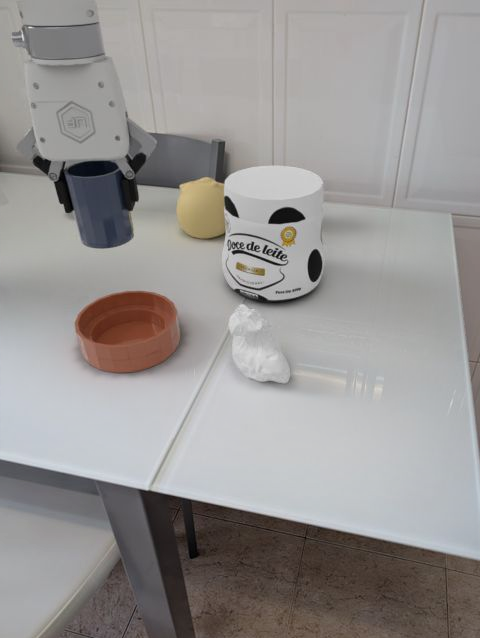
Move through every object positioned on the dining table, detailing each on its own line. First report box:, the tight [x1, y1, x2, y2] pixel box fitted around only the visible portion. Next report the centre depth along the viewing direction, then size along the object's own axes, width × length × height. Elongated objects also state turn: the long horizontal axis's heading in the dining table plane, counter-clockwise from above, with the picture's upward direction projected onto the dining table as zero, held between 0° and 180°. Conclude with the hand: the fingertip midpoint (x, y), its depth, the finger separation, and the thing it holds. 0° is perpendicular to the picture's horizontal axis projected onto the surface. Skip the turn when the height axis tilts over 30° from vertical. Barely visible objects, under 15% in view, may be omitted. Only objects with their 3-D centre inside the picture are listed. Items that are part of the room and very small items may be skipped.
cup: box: [63, 160, 135, 250], centre depth 63 cm, size 7×7×9 cm
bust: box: [228, 303, 291, 385], centre depth 65 cm, size 12×8×11 cm
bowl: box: [74, 290, 181, 374], centre depth 71 cm, size 14×14×5 cm
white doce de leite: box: [221, 164, 326, 303], centre depth 81 cm, size 17×17×18 cm
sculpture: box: [175, 176, 226, 240], centre depth 100 cm, size 12×12×11 cm
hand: (101, 206), depth 63 cm, fingers closed on cup, 6 cm apart
